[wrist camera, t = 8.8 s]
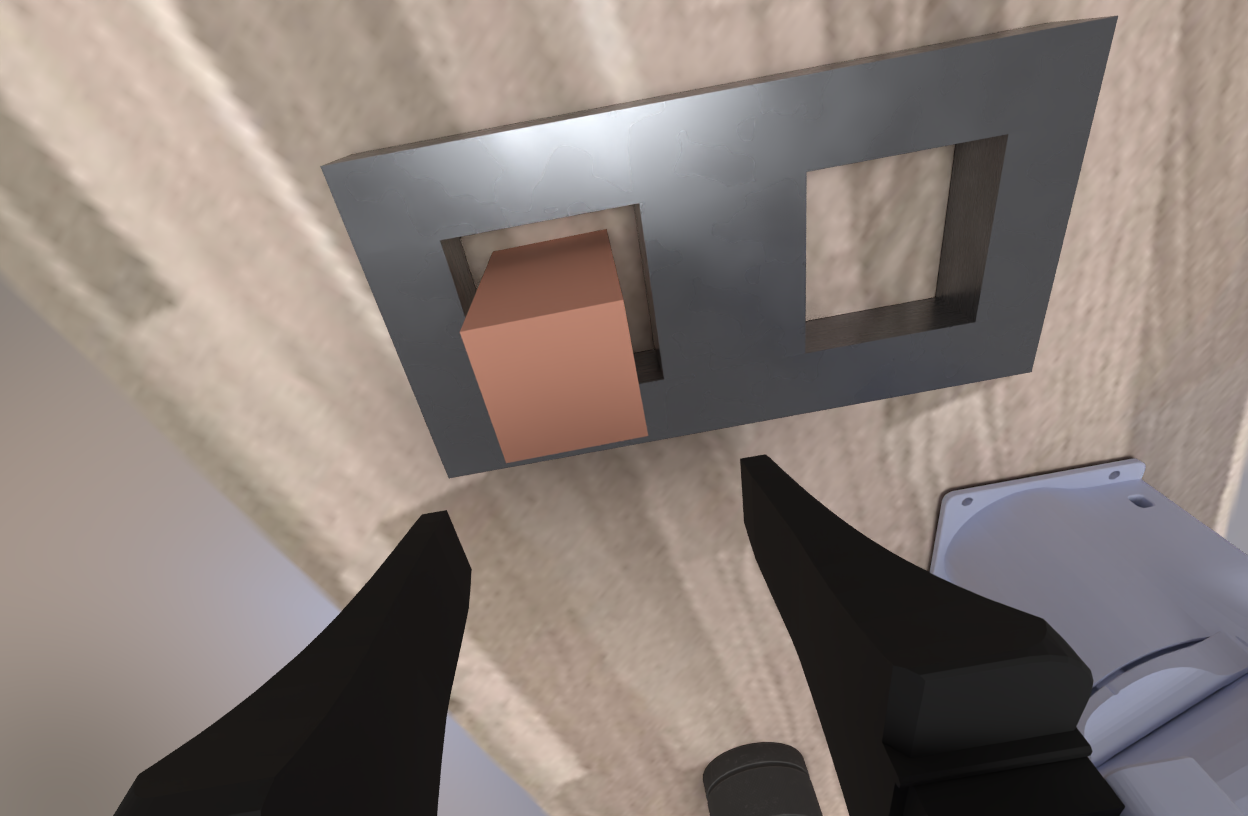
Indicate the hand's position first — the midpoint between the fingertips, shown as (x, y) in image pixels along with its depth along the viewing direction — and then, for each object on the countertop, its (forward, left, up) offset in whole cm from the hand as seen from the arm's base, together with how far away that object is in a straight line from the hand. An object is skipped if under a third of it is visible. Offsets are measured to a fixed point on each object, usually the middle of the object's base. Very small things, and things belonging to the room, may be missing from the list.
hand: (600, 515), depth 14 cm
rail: (-5, -3, -9) cm, 11 cm away
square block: (+1, -2, -9) cm, 10 cm away
